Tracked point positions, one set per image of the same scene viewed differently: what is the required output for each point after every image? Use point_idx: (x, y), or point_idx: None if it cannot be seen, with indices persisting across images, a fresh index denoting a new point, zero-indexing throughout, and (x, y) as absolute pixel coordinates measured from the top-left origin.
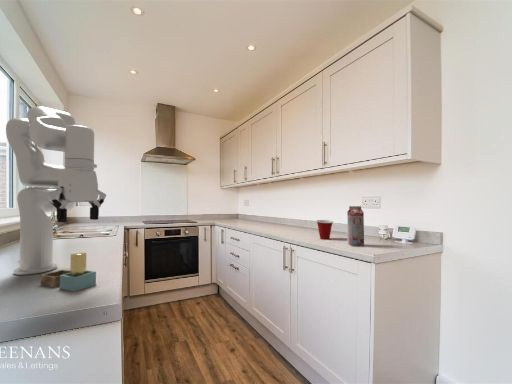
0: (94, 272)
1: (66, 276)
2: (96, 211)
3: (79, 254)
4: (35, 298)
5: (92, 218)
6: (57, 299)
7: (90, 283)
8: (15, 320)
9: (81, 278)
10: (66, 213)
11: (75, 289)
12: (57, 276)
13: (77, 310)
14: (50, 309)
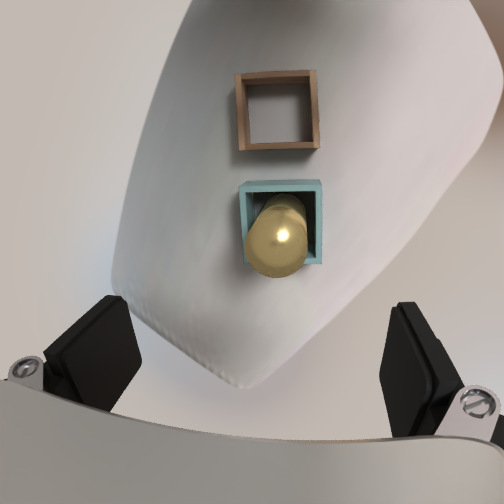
0: (315, 263)
1: (241, 223)
2: (394, 428)
3: (269, 265)
4: (176, 205)
5: (388, 341)
6: (199, 266)
7: None
8: None
9: None
10: (113, 403)
11: None
12: (251, 149)
13: (193, 358)
14: (167, 309)
